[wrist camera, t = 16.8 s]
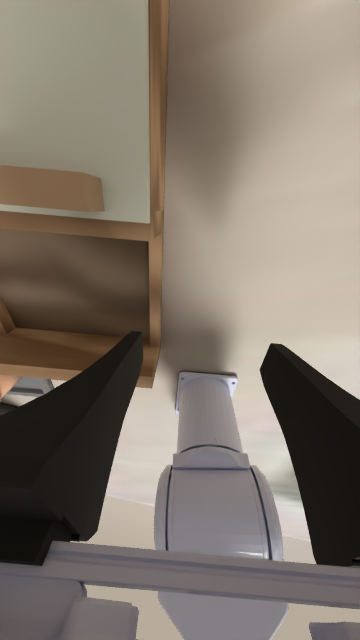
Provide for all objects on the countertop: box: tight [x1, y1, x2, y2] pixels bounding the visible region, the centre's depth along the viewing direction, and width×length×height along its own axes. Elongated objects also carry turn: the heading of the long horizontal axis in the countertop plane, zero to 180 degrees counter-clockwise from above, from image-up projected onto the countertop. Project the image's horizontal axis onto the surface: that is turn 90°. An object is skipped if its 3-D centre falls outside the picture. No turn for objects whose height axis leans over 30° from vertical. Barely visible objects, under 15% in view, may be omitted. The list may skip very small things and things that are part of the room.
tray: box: [6, 377, 54, 397], centre depth 26 cm, size 10×10×1 cm
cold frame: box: [0, 0, 169, 388], centre depth 14 cm, size 29×19×6 cm, turn 176°
